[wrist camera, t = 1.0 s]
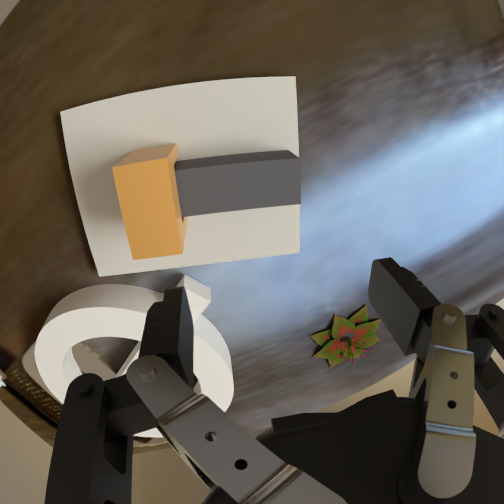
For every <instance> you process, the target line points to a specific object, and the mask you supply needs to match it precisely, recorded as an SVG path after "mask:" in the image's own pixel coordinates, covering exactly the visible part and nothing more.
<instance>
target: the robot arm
mask: <svg viewBox="0 0 504 504" xmlns="http://www.w3.org/2000/svg"><path fill="white" fill-rule="evenodd" d="M368 295H369V300H370V303H371V305H372V306H373V308H374V309H375V311H376V312H377V313H378V315H379V316H380V318H381V319H382V321H383V322H384V324H385V325H386V327H387V329H388V330H389V332H390V333H391V335H392V336H393V338H394V339H395V341H396V342H397V344H398V345H399V347H400V349H401V350H402V352H403V353H404V355H405V356H406V355H409V354H412V353H416V354H417V357H416V360H415V365H414V371H413V376H412V382H411V387H410V393H409V397H397V396H396V394H395V392H394V390H389V391H386V392H383V393H380V394H377V395H373V396H370V397H367V398H365V399H363V400H361V401H359V402H357V403H355V404H354V405H352V406H350V407H348V408H346V409H344V410H342V411H340V412H336V413H301V414H296V415H290V416H285V417H279V418H273V419H271V422H272V428H270V429H267V430H265V431H263V432H261V433H259V434H258V435H256V436H255V437H253V436H251V435H250V434H249V433H248V432H247V431H245V430H244V429H243V428H242V427H241V426H240V425H238V424H237V423H236V422H235V421H234V420H233V419H232V418H231V417H229V416H228V415H227V414H226V413H225V412H224V411H223V410H222V409H221V408H219V407H218V406H217V405H216V404H215V403H214V402H213V401H212V400H211V399H210V398H209V397H207V396H206V395H204V394H201V395H198V394H196V393H195V392H194V391H193V350H194V327H193V319H192V315H191V311H190V306H189V302H188V298H187V294H186V290H185V287H184V286H180V287H171V288H166V289H165V293H164V298H163V301H161V302H154V303H153V304H152V306H151V307H150V308H149V310H148V311H147V315H146V320H145V321H146V322H145V325H144V330H143V335H142V340H141V345H140V350H139V356H138V359H136V360H134V361H133V362H132V363H131V364H130V365H129V367H128V369H127V372H126V374H124V375H122V376H119V377H116V378H113V379H110V380H106V381H103V380H102V378H101V377H100V376H98V375H96V374H93V373H86V374H82V375H80V376H78V377H76V378H75V379H74V380H73V381H72V382H71V383H70V384H69V386H68V389H67V392H66V396H65V400H64V404H63V407H62V411H61V416H60V420H59V424H58V428H57V433H56V438H55V442H54V447H53V453H52V458H51V464H50V469H49V476H48V481H47V489H46V497H45V504H131V483H132V455H133V437H134V434H137V433H141V432H144V431H147V430H150V429H153V428H157V429H158V431H159V432H160V433H161V434H162V436H163V437H164V438H165V439H166V441H167V442H168V443H169V444H170V445H171V447H172V448H173V449H174V450H175V451H176V452H177V454H178V455H179V456H180V457H181V458H182V459H183V460H184V462H185V463H186V464H187V465H188V466H189V468H190V469H191V470H192V471H193V472H194V474H196V476H197V477H198V478H199V479H200V480H201V481H202V482H203V483H204V484H205V485H206V486H207V487H208V488H209V489H210V490H211V492H210V493H209V494H208V496H207V497H206V499H205V500H204V501H203V502H202V504H504V374H503V373H502V372H501V370H500V369H499V367H498V366H497V365H496V363H495V362H494V361H493V359H492V358H491V354H492V352H493V350H494V348H495V349H496V350H497V352H498V353H499V354H500V355H501V357H502V358H503V359H504V310H503V309H502V308H501V307H499V306H497V305H495V304H485V305H483V306H482V307H481V309H480V311H479V314H478V315H464V313H463V312H462V311H461V310H460V309H459V308H457V307H456V306H453V305H450V304H441V303H440V302H439V301H438V300H437V299H436V297H435V296H434V295H433V294H432V293H431V292H430V291H429V290H428V289H427V288H426V286H425V287H424V284H423V283H422V282H421V281H419V279H418V278H417V277H416V276H415V275H414V274H413V273H412V272H411V271H409V270H407V269H405V268H404V267H400V266H399V265H398V264H397V263H396V262H395V261H394V260H393V259H392V258H391V257H389V258H383V259H377V260H374V261H373V263H372V269H371V276H370V283H369V289H368ZM474 388H475V390H476V391H477V393H478V395H479V396H480V398H481V399H482V401H483V403H484V404H485V406H486V408H487V409H488V411H489V413H490V414H491V416H492V418H493V419H494V421H495V423H496V425H497V426H498V428H499V430H500V431H499V435H500V437H498V436H496V435H494V434H491V433H489V432H487V431H485V430H483V429H480V428H478V427H476V426H474V425H473V413H474Z"/></svg>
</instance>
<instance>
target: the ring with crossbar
mask: <svg viewBox="0 0 504 504" xmlns="http://www.w3.org/2000/svg"><path fill="white" fill-rule="evenodd" d="M180 286H184V287H185V290H186V294H187V298H188V302H189V306H190V311H191V315H192V319H193V327H194V350H193V373H194V374H195V375H196V377H197V379H198V382H197V383H196V385H195V386H194V387H193V391H194V392H195V393H196V394H198V395H201V394H204V395H206V396H207V397H209V398H210V399H211V400H212V401H213V402H214V403H215V404H216V405H217V406H218V407H219V408H221V409H222V410H223V411H224V412H225V411H226V410H227V408H228V407H229V405H230V403H231V401H232V397H233V392H234V385H233V376H232V367H231V358H230V353H229V350H228V347H227V345H226V343H225V341H224V339H223V337H222V336H221V334H220V333H219V332H218V330H217V329H216V328H215V327H214V326H213V325H212V324H211V323H210V322H209V321H208V320H207V319H206V318H205V317H204V316H203V315H201V313H202V312H203V311H204V309H205V308H206V307H207V306H208V304H209V303H210V302H211V296H210V288H209V287H207V286H205V285H203V284H201V283H200V282H198V281H196V280H194V279H192V278H190V277H189V276H187V275H184V276H183V278H182V279H181V280H180V282H179V283H178V285H177V286H176V287H180ZM163 298H164V294H163V293H160V292H157V291H154V290H151V289H147V288H142V287H138V286H131V285H122V284H104V285H95V286H90V287H86V288H83V289H79V290H77V291H75V292H73V293H71V294H69V295H67V296H66V297H64V298H63V299H62V300H60V301H59V302H58V303H57V304H56V305H55V307H54V308H53V309H52V311H51V312H50V314H49V316H48V318H47V320H46V322H45V324H44V325H43V327H42V329H41V331H40V333H39V335H38V337H37V340H36V344H35V361H36V365H37V368H38V371H39V373H40V375H41V377H42V379H43V381H44V382H45V384H46V386H47V387H48V388H49V390H50V391H51V392H52V393H53V394H54V395H55V396H56V397H57V399H59V400H60V401H61V402H62V403H63V404H64V400H65V396H66V392H67V389H68V386H69V384H70V383H71V382H72V381H73V380H74V379H75V378H76V377H78V376H80V375H82V373H81V372H80V368H79V367H78V365H77V364H76V362H75V359H74V357H73V354H72V349H71V347H72V346H74V345H75V344H77V343H79V342H81V341H83V340H86V339H90V338H96V337H122V338H128V339H133V340H138V341H139V342H138V343H137V345H136V346H135V348H134V349H133V351H132V352H131V353H130V355H129V356H128V358H127V359H126V361H125V362H124V364H123V365H122V367H121V368H120V370H119V371H118V373H117V374H116V376H115V378H116V377H119V376H122V375H124V374H126V372H127V369H128V367H129V365H130V364H131V363H132V362H133V361H134V360H136V359H138V356H139V350H140V345H141V340H142V335H143V330H144V325H145V322H146V321H145V320H146V315H147V311H148V310H149V308H150V307H151V306H152V304H153V303H154V302H161V301H163ZM134 436H142V437H163V436H162V434H161V433H160V432H159V431H158V429H157V428H153V429H150V430H147V431H144V432H141V433H137V434H134Z"/></svg>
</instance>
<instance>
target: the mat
mask: <svg viewBox="0 0 504 504" xmlns="http://www.w3.org/2000/svg"><path fill="white" fill-rule="evenodd" d="M60 114H61V121H62V128H63V134H64V140H65V146H66V151H67V157H68V162H69V167H70V172H71V176H72V181H73V185H74V190H75V194H76V198H77V202H78V206H79V210H80V214H81V218H82V221H83V225H84V229H85V232H86V236H87V239H88V242H89V246H90V249H91V252H92V255H93V259H94V262H95V265H96V268H97V271H98V274H99V277H101V276H109V275H118V274H127V273H135V272H144V271H153V270H161V269H170V268H178V267H186V266H195V265H203V264H212V263H220V262H228V261H237V260H245V259H253V258H261V257H269V256H277V255H286V254H294V253H300V204H296V205H286V206H276V207H266V208H256V209H247V210H238V211H229V212H220V213H212V214H204V215H196V216H188V217H187V218H188V221H187V228H186V234H185V242H184V249H183V254H179V255H171V256H163V257H155V258H147V259H139V260H133V258H132V254H131V250H130V246H129V242H128V238H127V234H126V230H125V226H124V222H123V218H122V213H121V209H120V204H119V200H118V195H117V190H116V185H115V180H114V175H113V170H112V167H113V166H114V165H116V164H117V163H118V162H119V161H121V160H122V159H123V158H125V157H126V156H127V155H129V154H130V153H131V152H132V151H134V150H139V149H144V148H150V147H156V146H162V145H169V144H175V143H177V147H178V155H179V156H178V158H177V160H176V161H182V160H189V159H197V158H205V157H213V156H222V155H232V154H242V153H253V152H265V151H279V150H289V151H290V152H292V153H293V154H295V155H296V156H297V157H299V146H298V119H297V97H296V78H295V76H293V77H255V78H238V79H226V80H215V81H205V82H197V83H189V84H182V85H175V86H169V87H162V88H157V89H151V90H146V91H140V92H135V93H131V94H126V95H121V96H117V97H113V98H108V99H104V100H100V101H97V102H93V103H89V104H85V105H82V106H78V107H75V108H71V109H68V110H65V111H62V112H60Z"/></svg>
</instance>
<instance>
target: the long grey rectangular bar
mask: <svg viewBox="0 0 504 504" xmlns="http://www.w3.org/2000/svg"><path fill="white" fill-rule="evenodd" d="M174 170H175V177H176V184H177V190H178V197H179V203H180V210H181V216H182V217H188V216H196V215H204V214H212V213H220V212H229V211H238V210H247V209H256V208H266V207H276V206H286V205H296V204H301V191H300V158H299V157H297V156H296V155H295V154H293V153H292V152H290V151H289V150H279V151H265V152H253V153H242V154H232V155H222V156H213V157H205V158H197V159H189V160H182V161H176V162H175V164H174Z"/></svg>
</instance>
